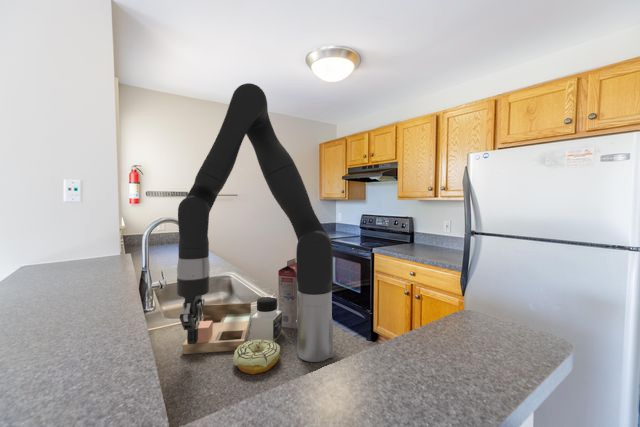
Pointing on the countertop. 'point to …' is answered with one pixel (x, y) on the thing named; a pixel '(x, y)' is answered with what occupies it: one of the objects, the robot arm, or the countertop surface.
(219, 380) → the countertop surface
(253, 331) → the medicine bottle
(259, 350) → the decorated donut
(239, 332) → the board
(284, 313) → the juice carton
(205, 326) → the block
